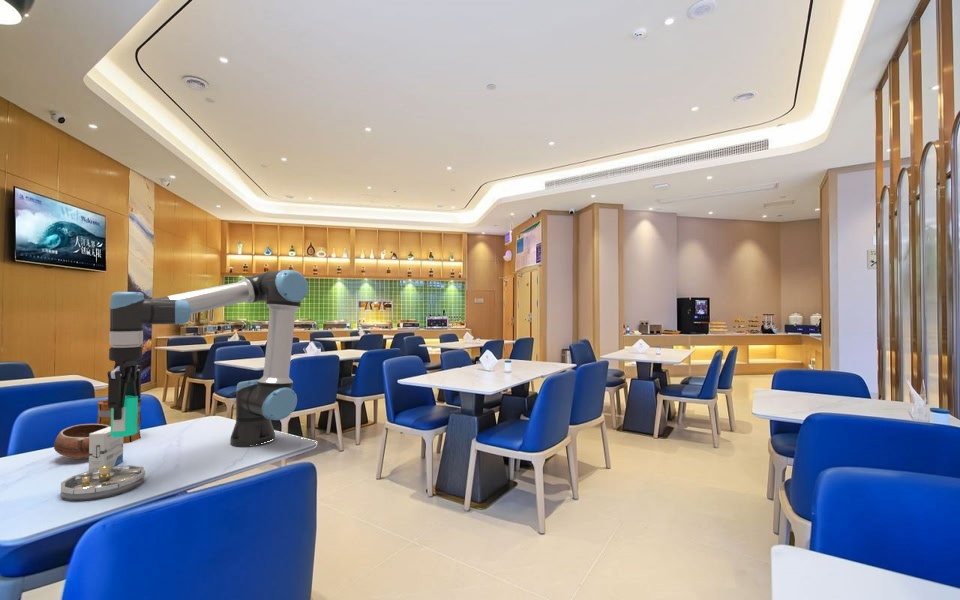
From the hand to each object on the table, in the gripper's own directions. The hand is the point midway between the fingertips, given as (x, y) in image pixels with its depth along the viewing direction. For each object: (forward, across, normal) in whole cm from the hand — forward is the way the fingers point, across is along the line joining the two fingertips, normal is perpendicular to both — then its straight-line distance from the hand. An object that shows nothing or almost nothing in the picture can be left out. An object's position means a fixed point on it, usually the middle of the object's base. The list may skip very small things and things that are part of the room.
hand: (124, 428), depth 128 cm
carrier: (+16, 0, -5) cm, 17 cm away
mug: (+17, -53, -26) cm, 61 cm away
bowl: (+17, -31, -26) cm, 44 cm away
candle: (+2, 0, 0) cm, 2 cm away
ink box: (+17, -19, -14) cm, 29 cm away
